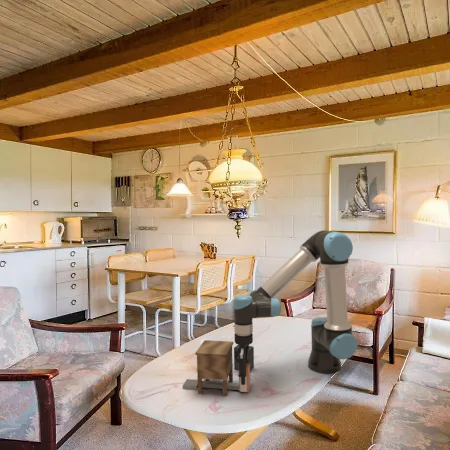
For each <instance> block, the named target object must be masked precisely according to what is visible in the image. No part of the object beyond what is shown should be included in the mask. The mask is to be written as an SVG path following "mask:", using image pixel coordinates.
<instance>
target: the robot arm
mask: <svg viewBox="0 0 450 450" xmlns="http://www.w3.org/2000/svg"><path fill="white" fill-rule="evenodd" d="M353 247H354V246H353V243H352V240H351V239H350V237H349V236H348V235H346V234H345V233H342V232H339V231H334V230H333V231H332V230H331V231H330V230H326V229H325V230H320V231H317V232H315V233H314V234H312V235H311V236H310V237H309V238H307V239H306V240H305V241H304V242H303V243H302V244H300V246H299V250H298V251H297V252H295V254H294V255H292V257H290V258H289V259H288V260H287V261H286V262H285V263H284V264H283V265H282V266H281V267H280V268H278V270H277V271H276V272H274V273H273V274H272V275H271V276H270V277H269V278H268V279H267V280H266V281H265V282H264V283H263V284H262V285H260V286H259V287H258V288H257V289H256V290H254V289H253V290H252V291H251V290H250V292H249V293H248V294H239V295H236V296H235V297H234V299H233V318H234V319H233V321H234V322H233V323H234V324H233V325H232V327H233V328H234V334H233V335H234V343H235V344H236V345H240V346H239V349H238V352H239V354H238V357H239V370H238V375H237V377H238V378H239V377H240V391H239V392H241V393H242V392H243V393H248V392H247V376H246V363H249V346H250V345H251V344H253V341H254V340H253V339H254V337H253V335H254V334H253V332H254V330H253V329H254V326H253V319H263V318H264V319H265V318H274V317H275V318H276V317H278V316H280V315H281V313H282V305H281V302H280V300H279V299H278V298H275V297H276V296H277V295H278V294H279V293H280V292H281V291H282V290H283V289H284V288H285V287H287V286H288V284H290V282H292V281H293V280H294V278H296V277H297V276H298V275H300V273H302V271H303V270H305V269H306V268H307V267H308V266H309V265H310V264H311V263H315V262H317V260H319V259H320V261H319V262H320V263H319V264H320V265H321V266H322V267H323V268H324V269H323V272H324V284H325V285H324V286H325V288H324V289H325V301H326V302H325V303H326V317H325V316H324V317H323V316H322V317H315V318H313V319H312V320H311V326H310V327H311V332H310V333H311V350H310V354H309V357H308V360H307V366H308V368H309V369H310V370H311V371H313V372H315V373H316V372H317V373H321V374H334V373H338V372H340V371H341V369H342V362H341V360H347V359H349V358H352V356H353V355H354V354H356V352H357V349H358V345H359V343H358V340H357V338H356V336H354V335H353V326H352V324H351V323H350V322H349V321H348V320H349V319H348V316H349V315H348V301H347V300H348V299H347V283H346V282H347V281H346V267H347V265H348V264H349V263H350V262H349V258H350V256H351V255H352V254H353V249H354V248H353Z"/></svg>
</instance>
